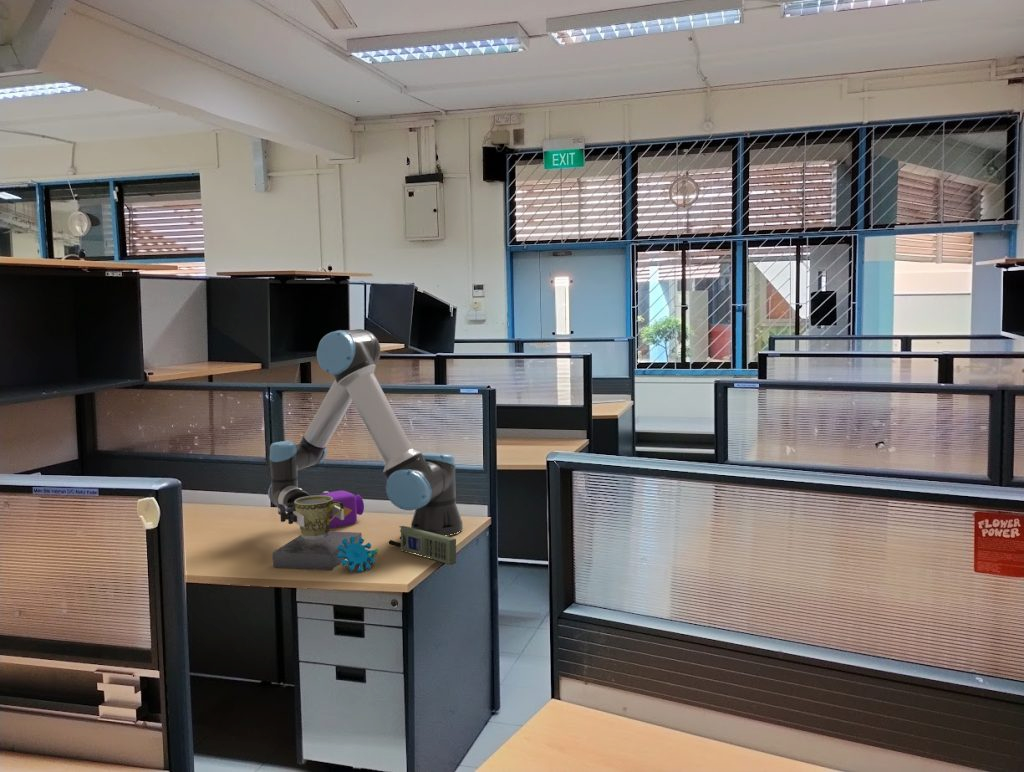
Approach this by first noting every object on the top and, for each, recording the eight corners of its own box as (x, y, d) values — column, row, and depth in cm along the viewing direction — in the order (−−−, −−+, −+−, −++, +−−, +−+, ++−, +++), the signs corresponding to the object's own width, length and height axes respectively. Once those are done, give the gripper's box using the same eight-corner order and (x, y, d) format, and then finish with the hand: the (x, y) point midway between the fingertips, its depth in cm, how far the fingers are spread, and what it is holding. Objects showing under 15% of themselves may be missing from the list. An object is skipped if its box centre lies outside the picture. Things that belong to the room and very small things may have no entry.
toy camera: (371, 520, 249) (369, 489, 248) (334, 530, 238) (333, 497, 237) (349, 515, 256) (348, 484, 255) (313, 524, 246) (311, 492, 245)
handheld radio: (449, 566, 204) (385, 548, 220) (458, 563, 206) (394, 545, 222) (449, 540, 203) (385, 524, 219) (458, 537, 206) (394, 522, 222)
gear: (343, 570, 196) (335, 535, 202) (335, 582, 200) (327, 548, 206) (384, 567, 203) (375, 534, 208) (376, 579, 206) (367, 546, 212)
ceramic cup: (288, 540, 210) (287, 503, 209) (307, 530, 219) (305, 494, 218) (334, 543, 207) (332, 505, 206) (351, 532, 216) (349, 496, 215)
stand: (362, 546, 221) (361, 532, 221) (331, 570, 202) (330, 554, 202) (308, 544, 225) (307, 530, 224) (273, 567, 205) (272, 552, 205)
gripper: (334, 508, 234) (364, 524, 215) (256, 521, 221) (280, 539, 203) (333, 483, 233) (363, 497, 214) (254, 494, 221) (279, 510, 202)
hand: (322, 518), depth 209 cm, fingers closed on ceramic cup, 10 cm apart
